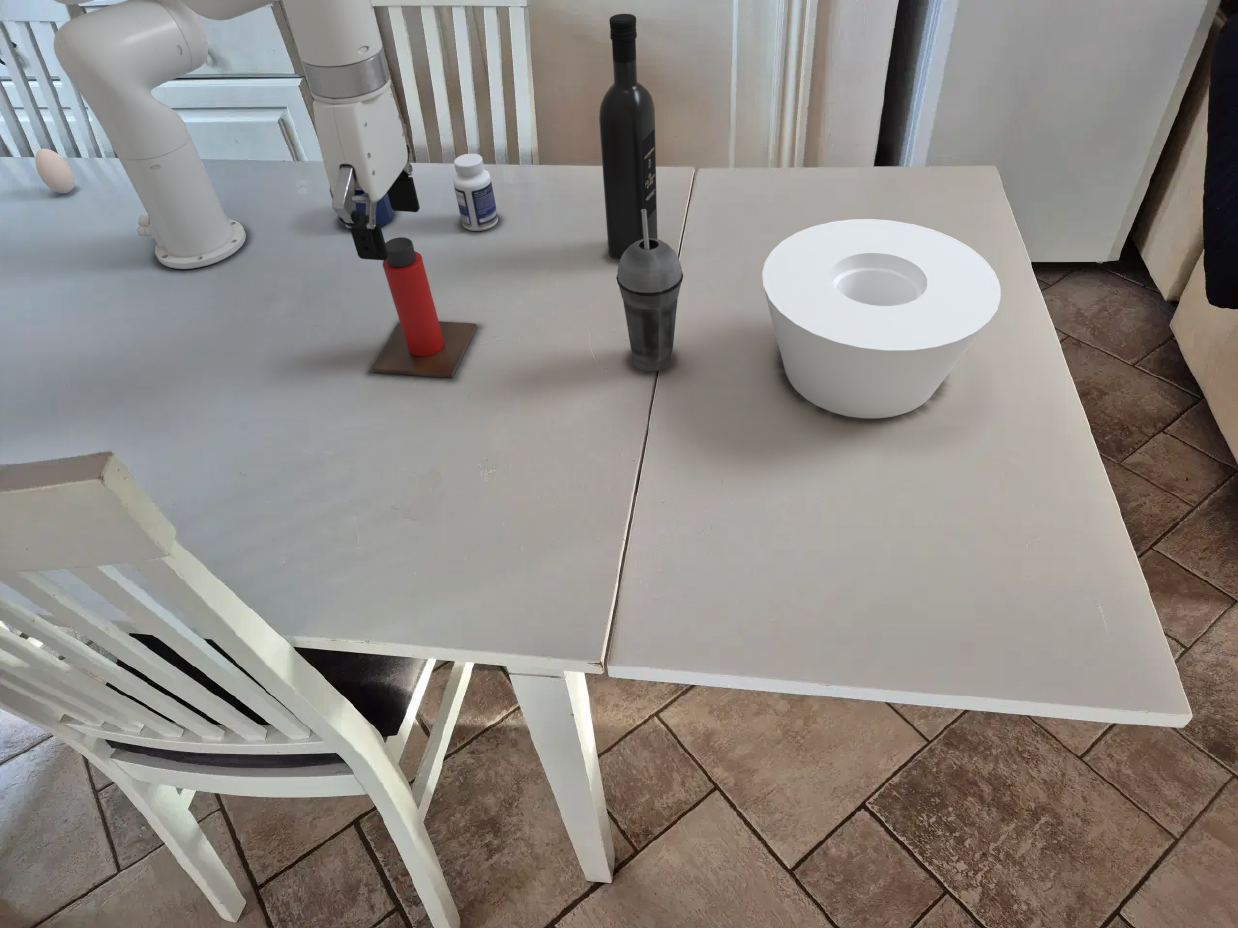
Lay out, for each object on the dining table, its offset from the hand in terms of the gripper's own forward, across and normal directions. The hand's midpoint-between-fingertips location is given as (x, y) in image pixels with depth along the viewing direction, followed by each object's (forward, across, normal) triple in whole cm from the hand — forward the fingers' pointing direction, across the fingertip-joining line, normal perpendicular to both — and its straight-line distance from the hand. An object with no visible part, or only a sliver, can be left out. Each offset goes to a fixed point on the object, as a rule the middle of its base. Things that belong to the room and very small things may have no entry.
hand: (390, 233), depth 89 cm
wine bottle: (+16, -24, +23) cm, 36 cm away
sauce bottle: (+15, 0, +1) cm, 15 cm away
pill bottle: (+16, -30, -1) cm, 34 cm away
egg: (+18, -34, -74) cm, 83 cm away
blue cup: (+16, -30, -19) cm, 39 cm away
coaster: (+16, 0, +1) cm, 16 cm away
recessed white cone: (+15, -2, +53) cm, 55 cm away
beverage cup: (+15, -1, +29) cm, 33 cm away
